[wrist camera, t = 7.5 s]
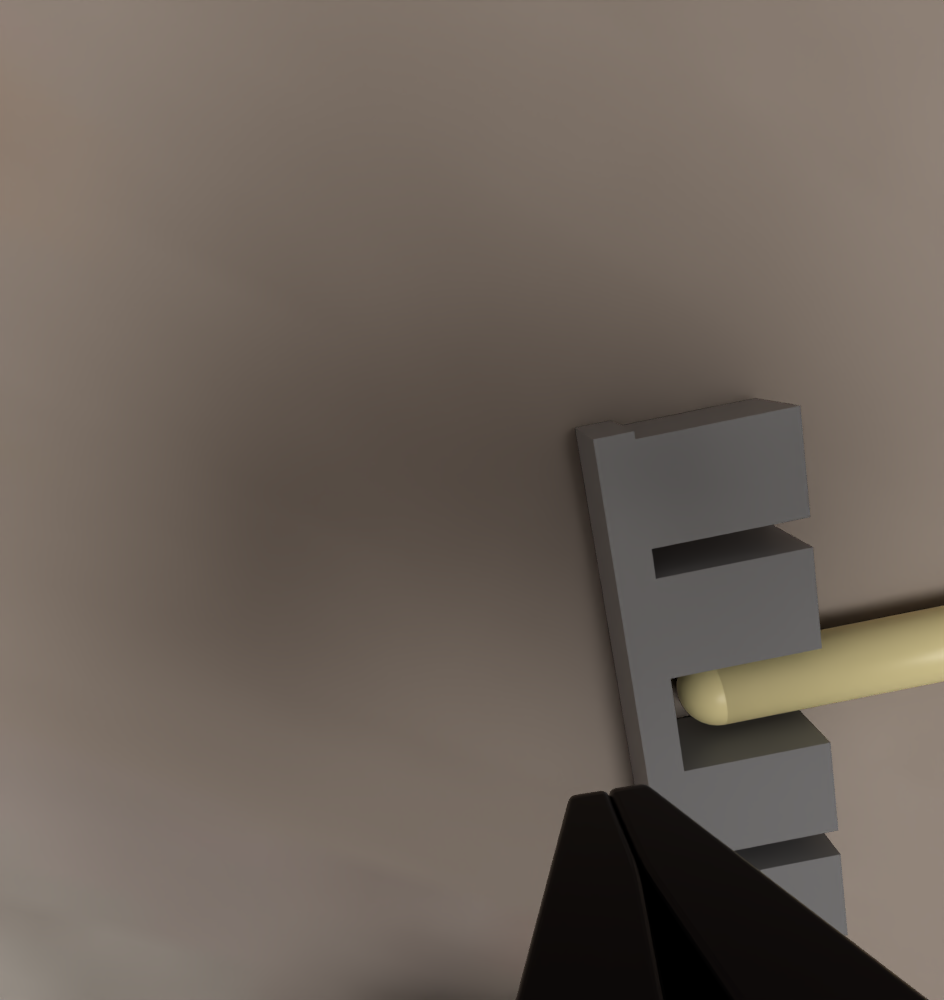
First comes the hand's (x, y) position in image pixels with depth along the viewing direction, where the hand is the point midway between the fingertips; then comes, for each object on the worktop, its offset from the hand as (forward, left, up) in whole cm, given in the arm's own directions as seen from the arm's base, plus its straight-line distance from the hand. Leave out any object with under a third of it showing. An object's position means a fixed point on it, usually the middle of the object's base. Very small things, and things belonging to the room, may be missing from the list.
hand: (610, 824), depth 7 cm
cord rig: (-6, -14, -12) cm, 19 cm away
